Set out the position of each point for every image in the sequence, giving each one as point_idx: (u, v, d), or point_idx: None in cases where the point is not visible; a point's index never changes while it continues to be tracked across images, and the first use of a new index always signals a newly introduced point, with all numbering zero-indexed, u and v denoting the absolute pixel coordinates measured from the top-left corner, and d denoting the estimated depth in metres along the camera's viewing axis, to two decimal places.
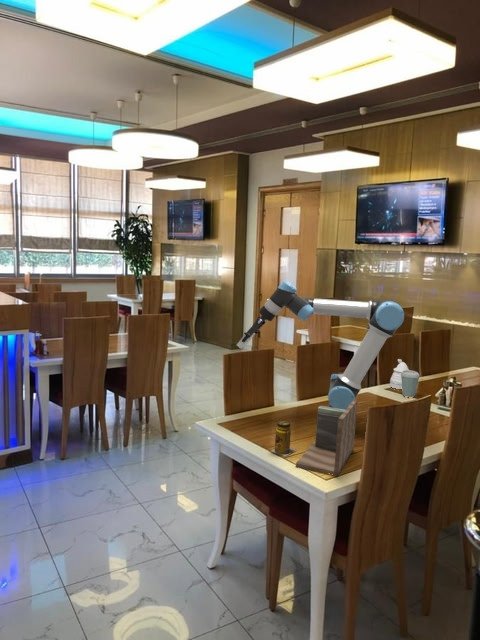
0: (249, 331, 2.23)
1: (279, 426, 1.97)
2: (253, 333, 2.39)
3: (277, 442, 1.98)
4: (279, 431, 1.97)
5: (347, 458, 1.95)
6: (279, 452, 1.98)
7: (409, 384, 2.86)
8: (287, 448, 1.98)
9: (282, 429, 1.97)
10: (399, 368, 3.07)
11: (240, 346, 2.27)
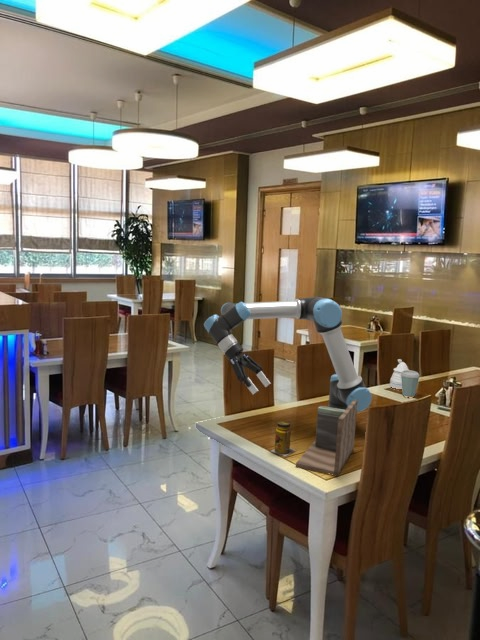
0: (237, 375, 1.96)
1: (279, 426, 1.97)
2: (259, 372, 2.09)
3: (277, 442, 1.98)
4: (279, 431, 1.97)
5: (347, 458, 1.95)
6: (279, 452, 1.98)
7: (409, 384, 2.86)
8: (287, 448, 1.98)
9: (282, 429, 1.97)
10: (399, 368, 3.07)
11: (255, 390, 1.96)
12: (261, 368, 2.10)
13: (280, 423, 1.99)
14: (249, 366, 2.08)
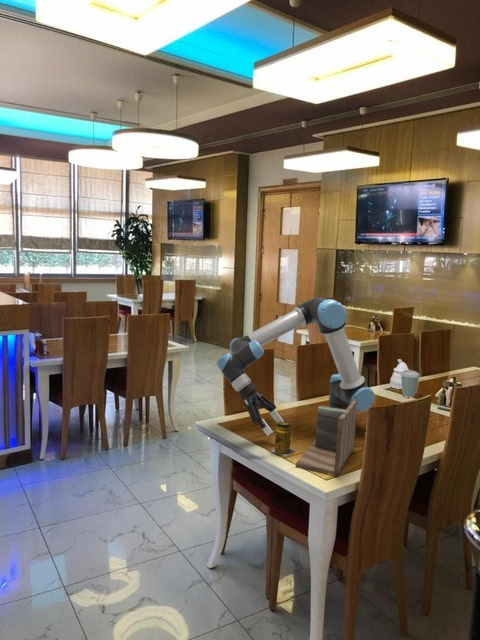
0: (252, 416, 1.94)
1: (279, 426, 1.97)
2: (273, 411, 2.07)
3: (277, 442, 1.98)
4: (279, 431, 1.97)
5: (347, 458, 1.95)
6: (279, 452, 1.98)
7: (409, 384, 2.86)
8: (287, 448, 1.98)
9: (282, 429, 1.97)
10: (399, 368, 3.07)
11: (269, 431, 1.94)
12: (275, 406, 2.08)
13: (280, 423, 1.99)
14: (263, 405, 2.06)
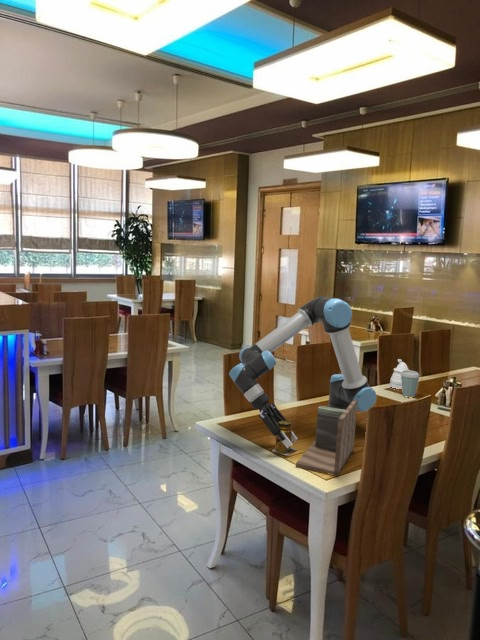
0: (271, 430, 1.95)
1: (280, 425, 1.98)
2: None
3: (277, 441, 1.99)
4: None
5: (347, 458, 1.95)
6: (280, 451, 1.98)
7: (409, 384, 2.86)
8: (288, 448, 1.98)
9: (283, 428, 1.97)
10: (399, 368, 3.07)
11: (289, 444, 1.96)
12: None
13: (281, 422, 1.99)
14: (275, 418, 2.03)
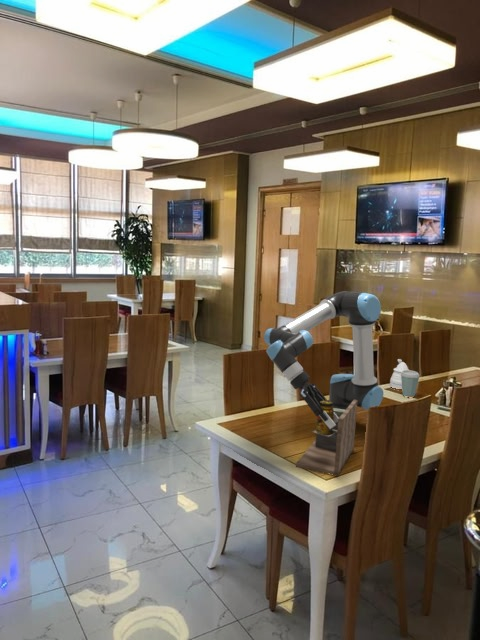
0: (313, 409, 1.84)
1: (322, 405, 1.87)
2: None
3: (319, 422, 1.88)
4: None
5: (347, 458, 1.95)
6: (322, 433, 1.87)
7: (409, 384, 2.86)
8: (330, 429, 1.87)
9: (325, 408, 1.86)
10: (399, 368, 3.07)
11: (332, 424, 1.84)
12: None
13: (323, 402, 1.88)
14: (315, 398, 1.92)
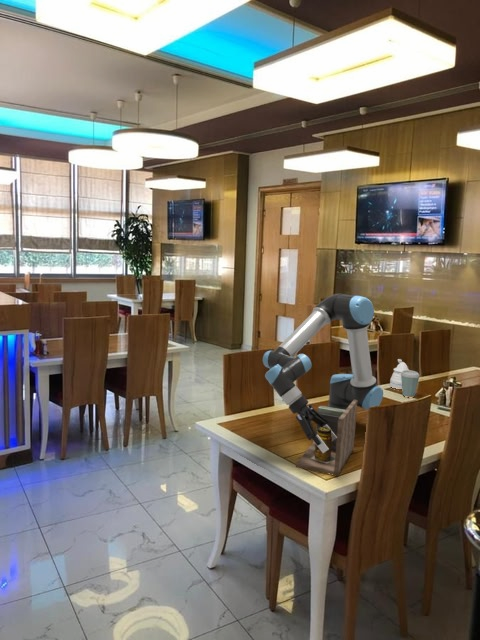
0: (306, 433, 1.83)
1: (320, 432, 1.88)
2: (325, 426, 1.96)
3: (317, 449, 1.89)
4: (320, 437, 1.88)
5: (347, 458, 1.95)
6: (320, 459, 1.89)
7: (409, 384, 2.86)
8: (328, 456, 1.89)
9: (323, 435, 1.88)
10: (399, 368, 3.07)
11: (325, 448, 1.83)
12: (326, 421, 1.97)
13: (321, 429, 1.90)
14: (314, 419, 1.95)
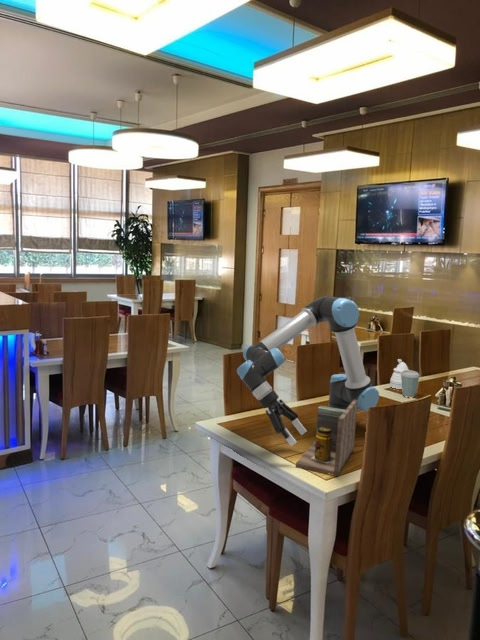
0: (275, 426, 1.88)
1: (320, 432, 1.88)
2: (295, 420, 2.01)
3: (317, 449, 1.89)
4: (320, 437, 1.88)
5: (347, 458, 1.95)
6: (320, 459, 1.89)
7: (409, 384, 2.86)
8: (328, 456, 1.89)
9: (323, 435, 1.88)
10: (399, 368, 3.07)
11: (293, 442, 1.88)
12: (296, 415, 2.02)
13: (321, 429, 1.90)
14: (284, 414, 2.00)
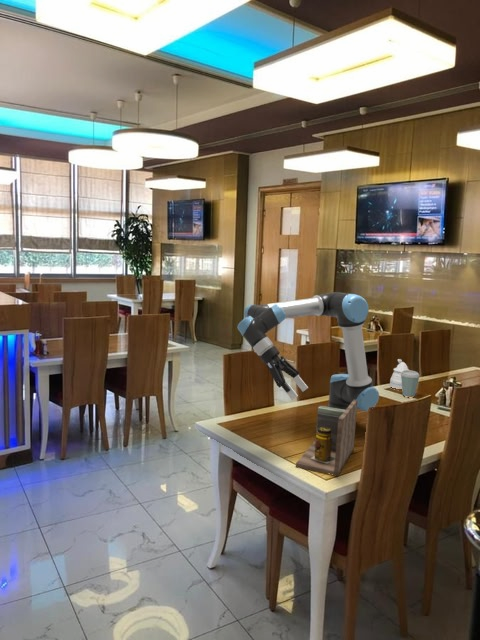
0: (276, 380, 1.86)
1: (320, 432, 1.88)
2: (296, 376, 1.99)
3: (317, 449, 1.89)
4: (320, 437, 1.88)
5: (347, 458, 1.95)
6: (320, 459, 1.89)
7: (409, 384, 2.86)
8: (328, 456, 1.89)
9: (323, 435, 1.88)
10: (399, 368, 3.07)
11: (294, 395, 1.86)
12: (298, 372, 2.00)
13: (321, 429, 1.90)
14: (285, 370, 1.98)
